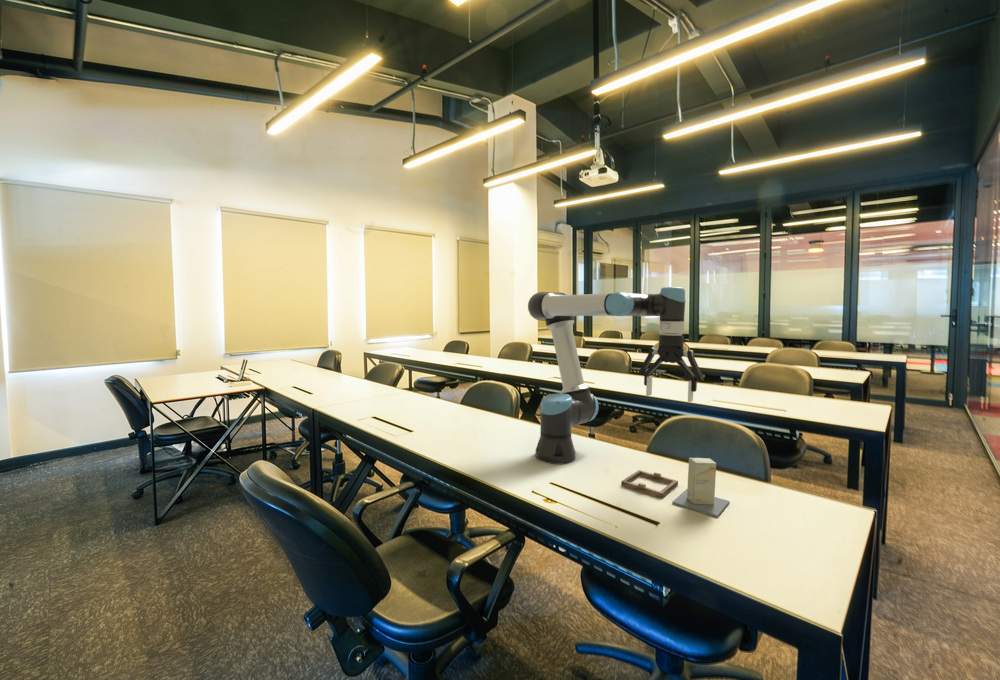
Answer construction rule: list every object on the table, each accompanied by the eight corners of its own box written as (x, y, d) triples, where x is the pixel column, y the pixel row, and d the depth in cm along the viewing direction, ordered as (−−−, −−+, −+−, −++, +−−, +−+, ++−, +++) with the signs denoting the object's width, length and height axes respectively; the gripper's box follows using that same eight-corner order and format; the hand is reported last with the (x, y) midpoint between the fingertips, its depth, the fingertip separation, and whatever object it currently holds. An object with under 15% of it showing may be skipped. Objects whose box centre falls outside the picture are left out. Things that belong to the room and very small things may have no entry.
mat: (672, 503, 121) (672, 501, 121) (686, 490, 129) (686, 489, 129) (717, 517, 113) (717, 515, 112) (729, 503, 121) (729, 501, 121)
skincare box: (692, 504, 119) (694, 462, 118) (686, 497, 123) (688, 457, 123) (715, 504, 119) (717, 463, 118) (708, 498, 123) (709, 457, 122)
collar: (621, 485, 133) (621, 478, 133) (638, 474, 142) (639, 467, 142) (662, 498, 124) (662, 490, 124) (677, 485, 134) (678, 478, 134)
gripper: (630, 333, 143) (628, 394, 144) (708, 336, 126) (705, 406, 128) (639, 332, 149) (637, 391, 150) (715, 335, 132) (712, 402, 133)
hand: (668, 398), depth 139 cm, fingers open, 13 cm apart
